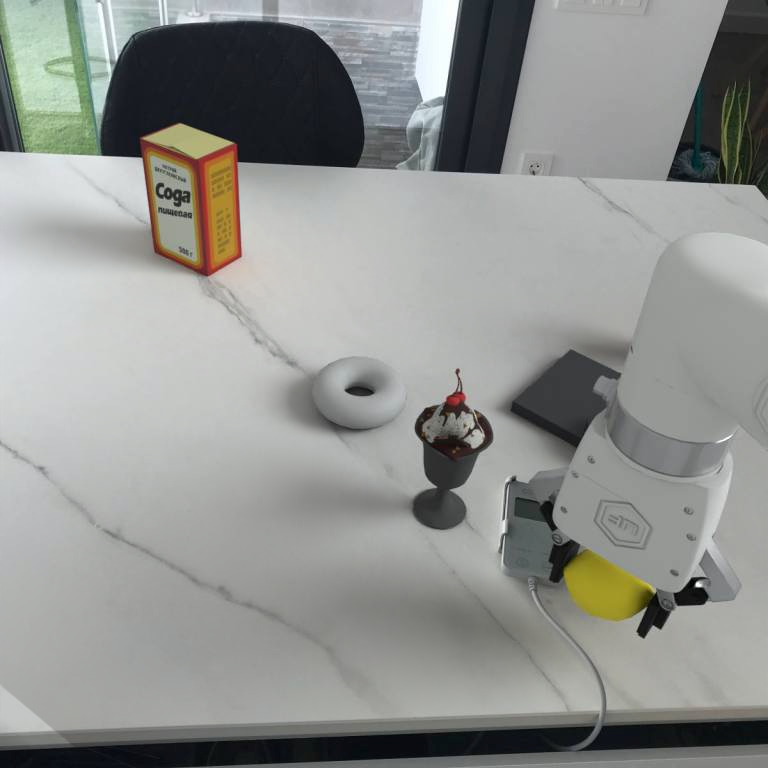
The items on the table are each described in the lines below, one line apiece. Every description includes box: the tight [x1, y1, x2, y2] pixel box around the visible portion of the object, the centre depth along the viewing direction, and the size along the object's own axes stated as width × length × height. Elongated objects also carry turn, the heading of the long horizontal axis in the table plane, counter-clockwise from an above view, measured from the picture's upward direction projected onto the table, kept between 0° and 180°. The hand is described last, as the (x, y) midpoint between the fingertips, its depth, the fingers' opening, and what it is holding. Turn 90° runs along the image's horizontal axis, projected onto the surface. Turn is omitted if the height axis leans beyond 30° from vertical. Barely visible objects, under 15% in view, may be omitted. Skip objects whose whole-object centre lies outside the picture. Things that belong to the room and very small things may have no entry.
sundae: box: [413, 368, 494, 530], centre depth 67 cm, size 7×7×15 cm
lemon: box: [563, 548, 656, 623], centre depth 59 cm, size 7×5×5 cm
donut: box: [311, 356, 408, 430], centre depth 81 cm, size 10×4×10 cm
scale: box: [510, 348, 622, 449], centre depth 83 cm, size 14×14×3 cm
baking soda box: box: [139, 122, 243, 277], centre depth 98 cm, size 10×6×16 cm
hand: (603, 596), depth 60 cm, fingers closed on lemon, 6 cm apart
